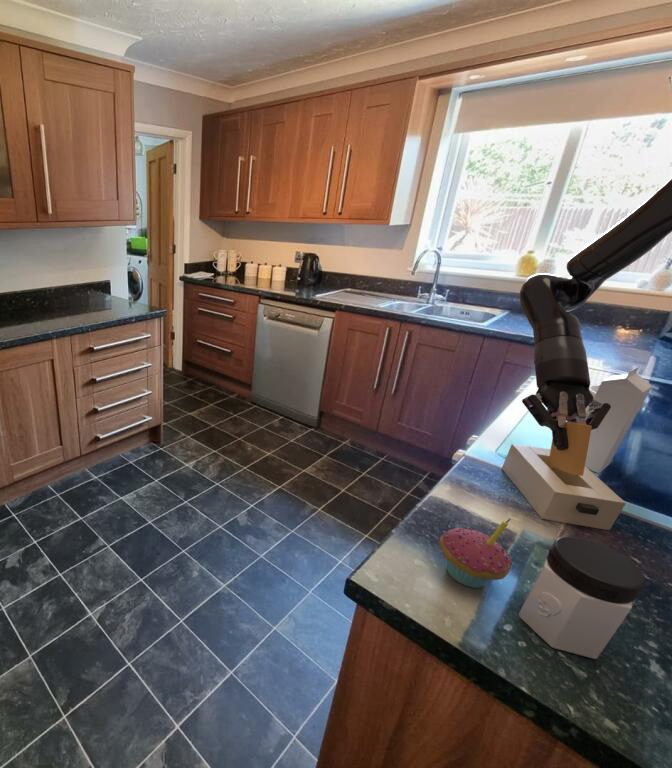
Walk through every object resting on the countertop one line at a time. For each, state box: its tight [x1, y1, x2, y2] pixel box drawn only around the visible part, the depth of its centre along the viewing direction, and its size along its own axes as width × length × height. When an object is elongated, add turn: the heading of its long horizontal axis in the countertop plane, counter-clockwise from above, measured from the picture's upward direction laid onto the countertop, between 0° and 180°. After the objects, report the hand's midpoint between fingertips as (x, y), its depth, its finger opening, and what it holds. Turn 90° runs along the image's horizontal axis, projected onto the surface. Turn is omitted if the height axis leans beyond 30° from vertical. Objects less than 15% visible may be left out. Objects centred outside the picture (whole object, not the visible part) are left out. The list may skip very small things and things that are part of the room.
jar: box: [517, 535, 646, 660], centre depth 54 cm, size 9×8×12 cm
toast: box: [548, 421, 592, 476], centre depth 78 cm, size 2×6×9 cm, turn 164°
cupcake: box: [438, 518, 513, 589], centre depth 61 cm, size 9×8×12 cm
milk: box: [585, 365, 653, 474], centre depth 87 cm, size 6×6×22 cm
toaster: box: [501, 443, 626, 531], centre depth 79 cm, size 17×10×6 cm, turn 165°
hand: (570, 450), depth 77 cm, fingers closed on toast, 1 cm apart
